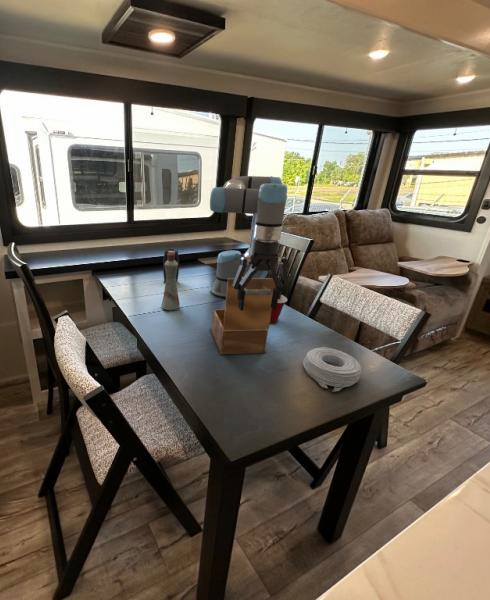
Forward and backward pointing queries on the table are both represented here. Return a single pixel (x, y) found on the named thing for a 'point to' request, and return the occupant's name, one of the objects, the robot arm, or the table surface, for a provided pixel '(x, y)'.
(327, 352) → the cable
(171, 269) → the bottle
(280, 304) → the plastic cup
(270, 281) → the lid
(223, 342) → the chest
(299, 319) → the table surface
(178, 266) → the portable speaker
